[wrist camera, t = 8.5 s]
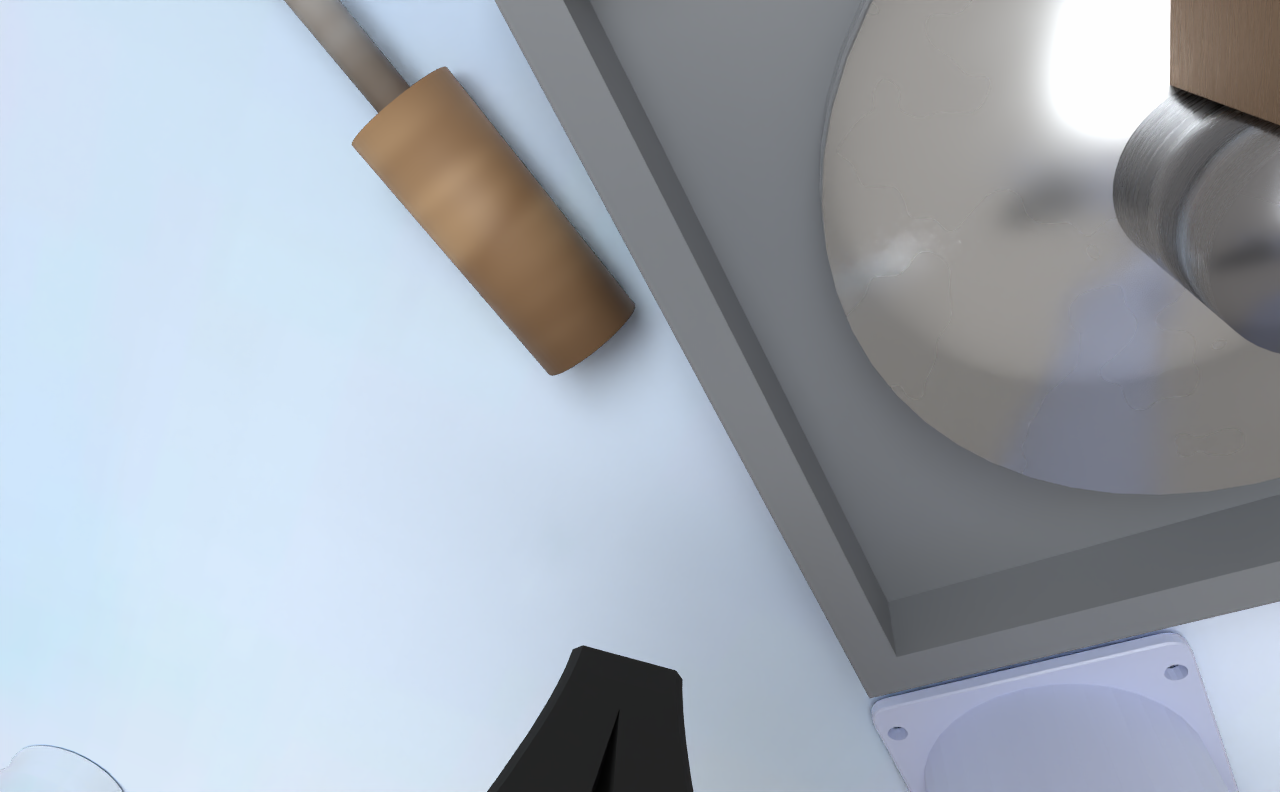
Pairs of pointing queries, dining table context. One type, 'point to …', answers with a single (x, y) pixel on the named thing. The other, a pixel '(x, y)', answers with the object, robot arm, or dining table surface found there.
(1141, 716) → the robot arm
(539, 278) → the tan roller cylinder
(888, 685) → the tray
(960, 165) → the dial
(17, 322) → the dining table surface
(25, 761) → the cup with straw
